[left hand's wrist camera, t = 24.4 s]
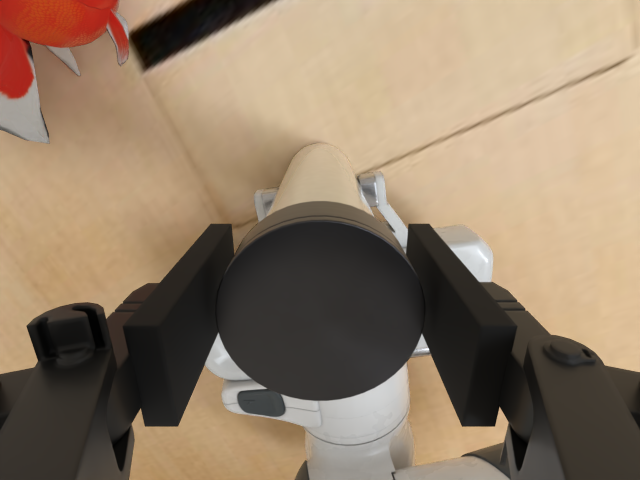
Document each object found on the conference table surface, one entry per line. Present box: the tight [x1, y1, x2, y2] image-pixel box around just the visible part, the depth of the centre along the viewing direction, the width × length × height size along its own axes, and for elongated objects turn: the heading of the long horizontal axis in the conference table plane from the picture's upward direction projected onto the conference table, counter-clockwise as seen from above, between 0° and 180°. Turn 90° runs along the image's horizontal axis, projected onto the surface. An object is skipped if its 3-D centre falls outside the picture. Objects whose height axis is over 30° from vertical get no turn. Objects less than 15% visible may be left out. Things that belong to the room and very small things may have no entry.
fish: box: [0, 0, 129, 143], centre depth 22 cm, size 11×16×10 cm
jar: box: [266, 143, 375, 217], centre depth 20 cm, size 5×5×19 cm
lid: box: [215, 201, 425, 401], centre depth 11 cm, size 6×6×2 cm
